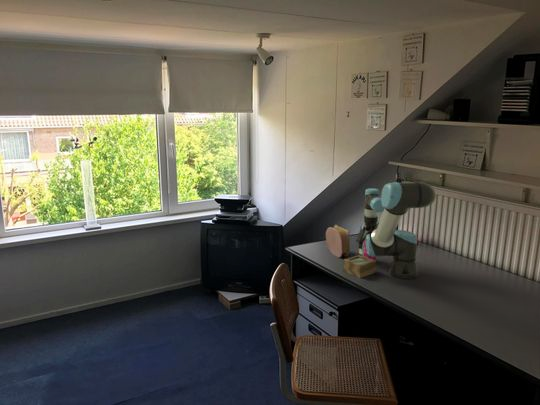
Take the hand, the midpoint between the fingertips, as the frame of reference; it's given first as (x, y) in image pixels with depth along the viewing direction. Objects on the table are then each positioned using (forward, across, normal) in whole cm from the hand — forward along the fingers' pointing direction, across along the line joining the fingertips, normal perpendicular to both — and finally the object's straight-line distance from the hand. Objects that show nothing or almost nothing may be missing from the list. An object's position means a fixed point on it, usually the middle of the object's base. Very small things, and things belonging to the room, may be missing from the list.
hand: (369, 251), depth 255 cm
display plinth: (+6, +17, +8) cm, 20 cm away
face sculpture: (+6, +6, -20) cm, 21 cm away
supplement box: (+6, 0, 0) cm, 6 cm away
